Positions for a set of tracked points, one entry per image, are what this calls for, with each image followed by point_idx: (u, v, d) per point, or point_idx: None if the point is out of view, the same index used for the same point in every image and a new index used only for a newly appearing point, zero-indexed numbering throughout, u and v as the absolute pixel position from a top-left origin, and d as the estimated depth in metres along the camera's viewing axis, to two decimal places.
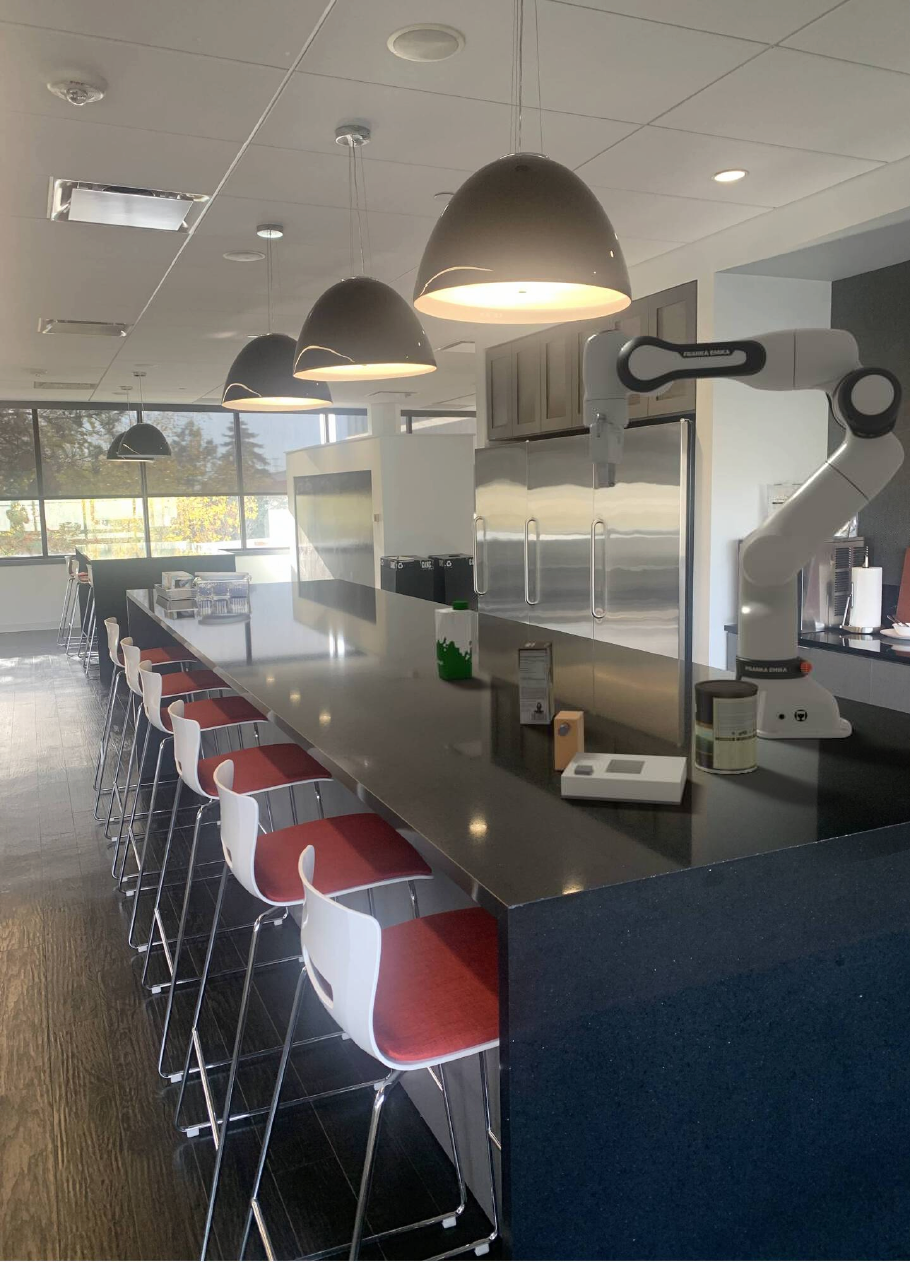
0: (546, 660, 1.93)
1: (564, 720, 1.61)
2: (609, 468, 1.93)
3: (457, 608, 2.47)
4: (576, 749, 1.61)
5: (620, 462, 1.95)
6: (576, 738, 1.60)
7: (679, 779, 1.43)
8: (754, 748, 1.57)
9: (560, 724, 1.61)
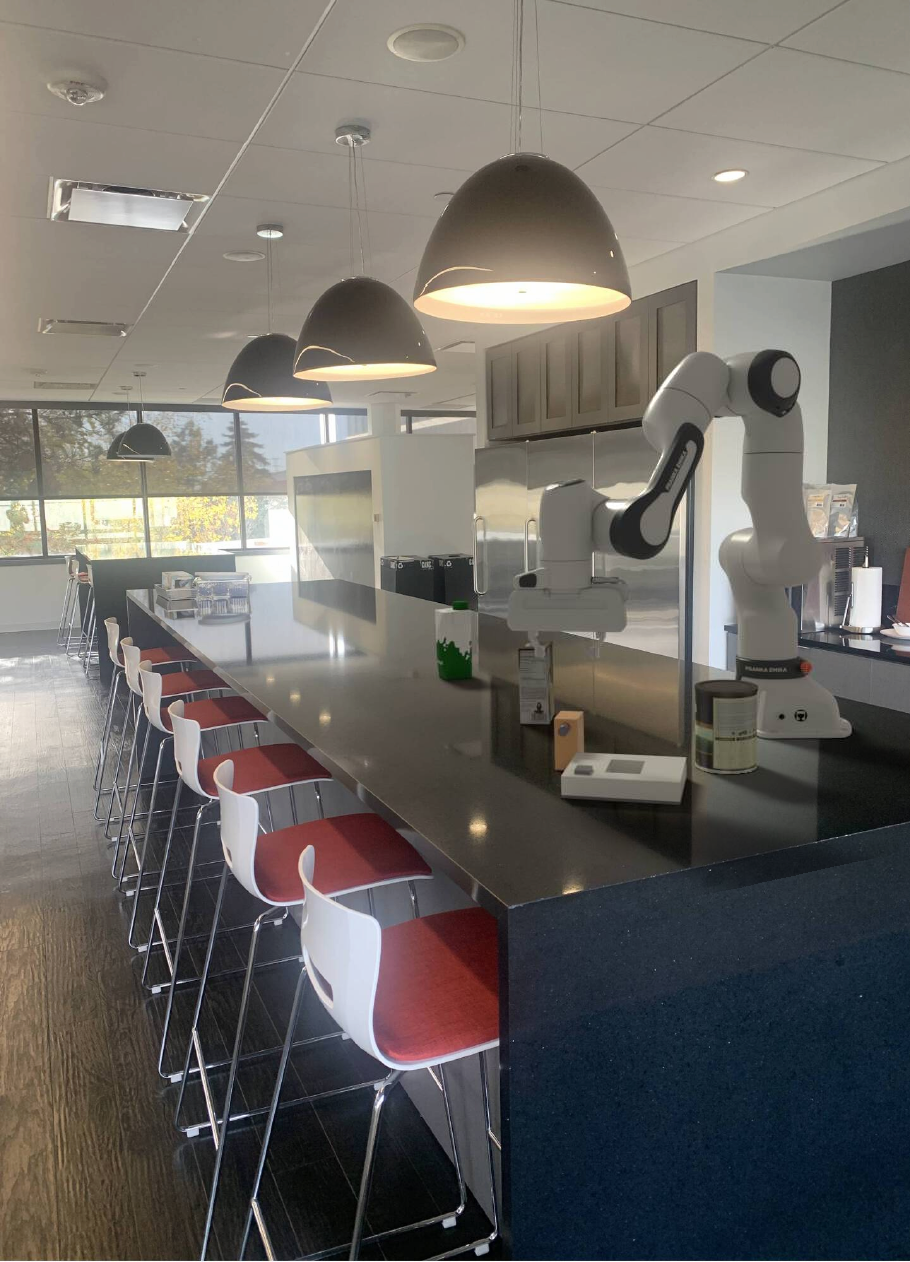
0: (547, 660, 1.93)
1: (564, 720, 1.61)
2: (536, 635, 1.63)
3: (457, 608, 2.47)
4: (576, 749, 1.61)
5: None
6: (576, 738, 1.60)
7: (679, 779, 1.43)
8: (754, 748, 1.57)
9: (560, 724, 1.61)
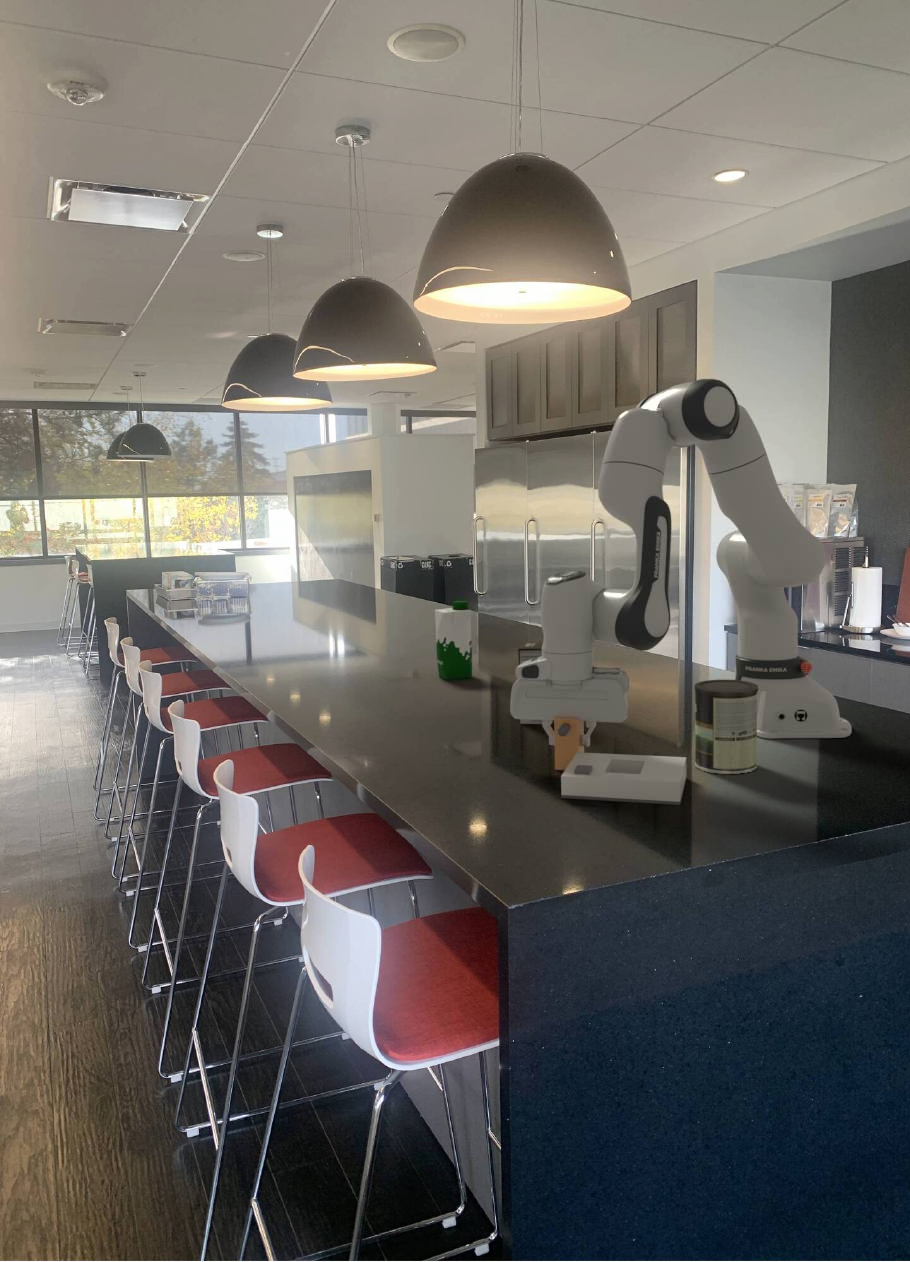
0: None
1: (564, 720, 1.61)
2: (550, 723, 1.64)
3: (457, 608, 2.47)
4: (576, 749, 1.61)
5: None
6: (576, 738, 1.60)
7: (679, 779, 1.43)
8: (754, 748, 1.57)
9: (560, 724, 1.61)
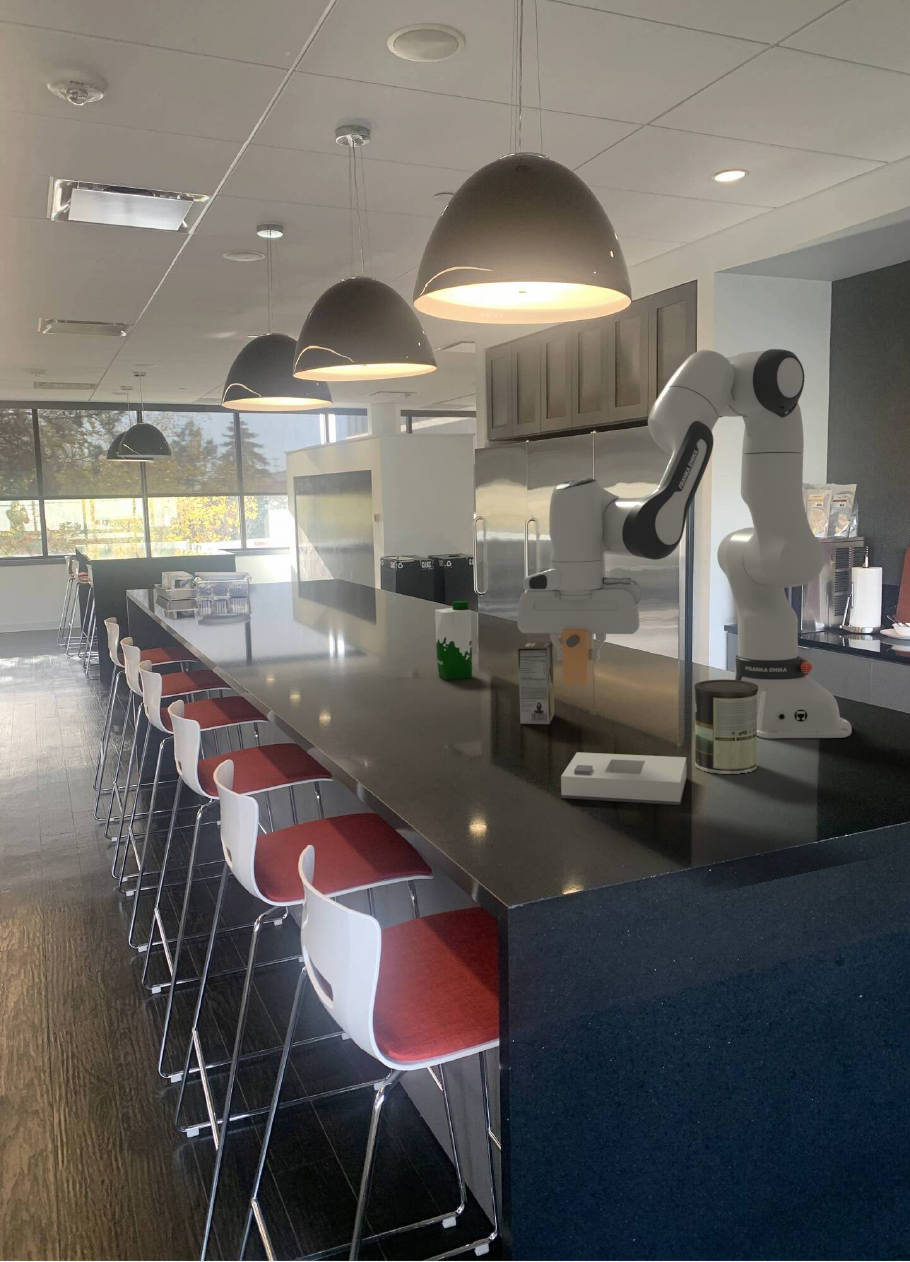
0: (546, 660, 1.93)
1: (573, 632, 1.56)
2: (559, 637, 1.59)
3: (457, 608, 2.47)
4: (585, 662, 1.56)
5: None
6: (585, 650, 1.55)
7: (679, 779, 1.43)
8: (754, 748, 1.57)
9: (569, 636, 1.56)
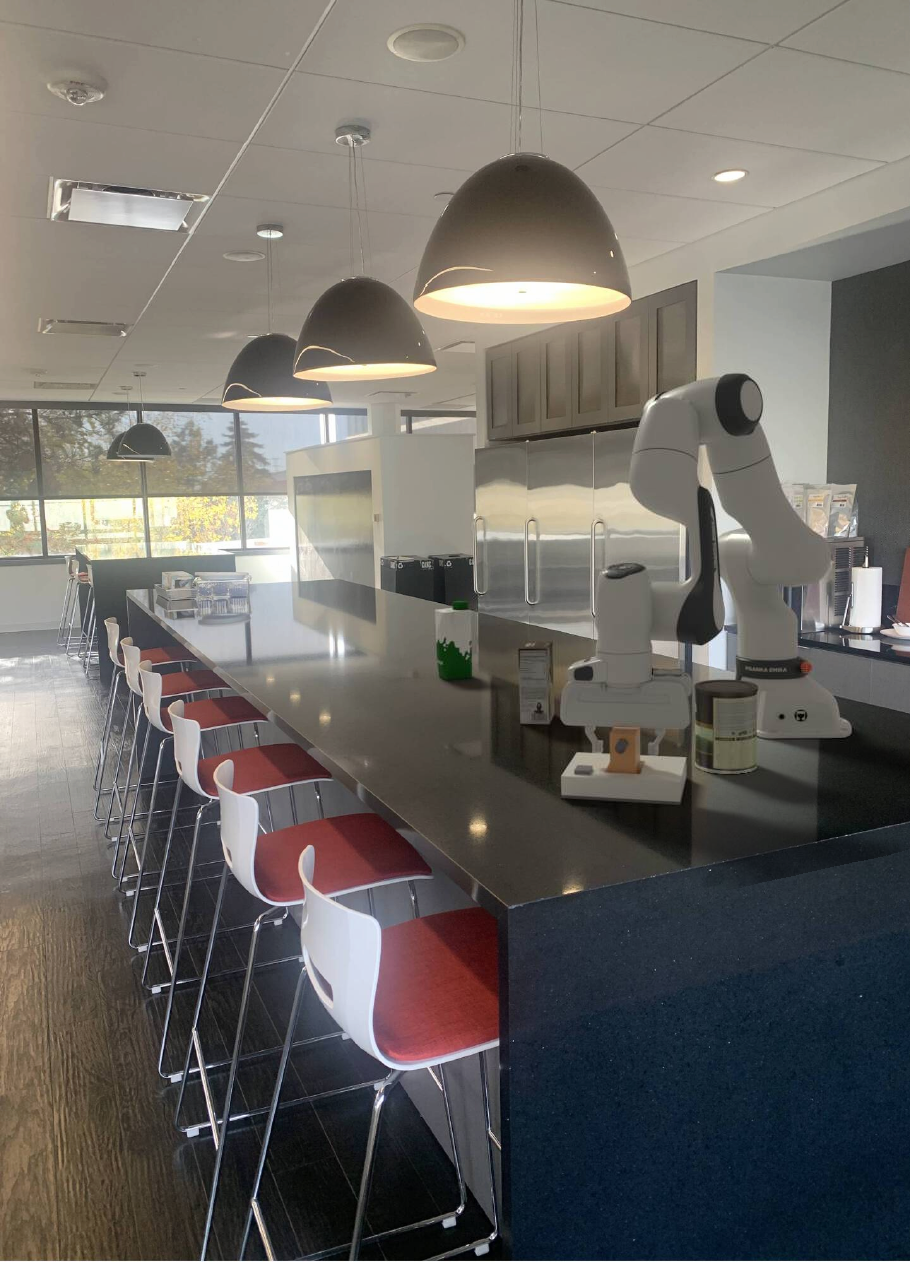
0: (547, 660, 1.93)
1: (621, 735, 1.47)
2: (594, 729, 1.51)
3: (457, 608, 2.47)
4: (634, 767, 1.47)
5: None
6: (634, 755, 1.47)
7: (679, 779, 1.43)
8: (754, 748, 1.57)
9: (616, 740, 1.47)
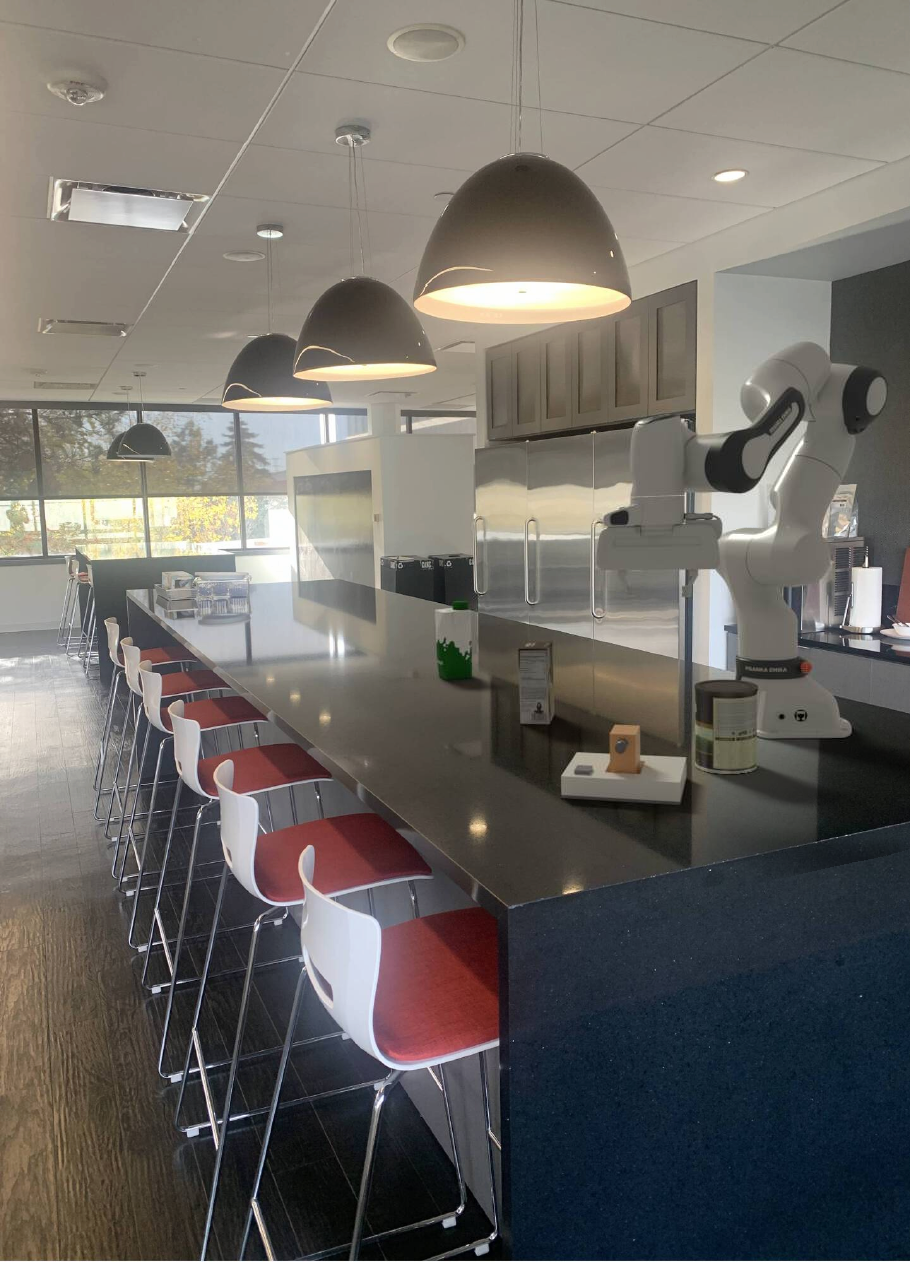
0: (547, 660, 1.93)
1: (621, 735, 1.47)
2: (626, 574, 1.60)
3: (457, 608, 2.47)
4: (634, 767, 1.47)
5: None
6: (634, 755, 1.47)
7: (679, 779, 1.43)
8: (754, 748, 1.57)
9: (616, 740, 1.47)
